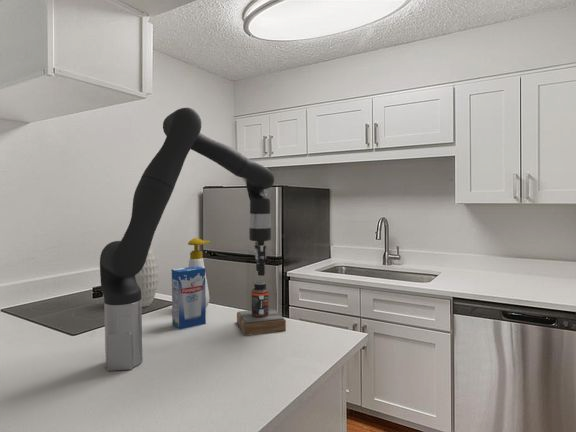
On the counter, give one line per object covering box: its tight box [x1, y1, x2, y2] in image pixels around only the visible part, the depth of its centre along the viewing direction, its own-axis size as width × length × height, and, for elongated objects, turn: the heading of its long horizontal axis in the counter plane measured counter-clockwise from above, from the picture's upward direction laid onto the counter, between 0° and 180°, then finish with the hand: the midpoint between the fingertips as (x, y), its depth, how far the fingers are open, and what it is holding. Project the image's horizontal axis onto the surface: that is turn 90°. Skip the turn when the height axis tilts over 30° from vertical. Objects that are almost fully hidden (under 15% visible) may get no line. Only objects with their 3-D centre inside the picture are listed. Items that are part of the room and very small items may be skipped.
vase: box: [135, 247, 159, 308], centre depth 158 cm, size 13×13×28 cm
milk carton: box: [171, 266, 207, 331], centre depth 133 cm, size 10×6×20 cm, turn 129°
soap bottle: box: [187, 237, 211, 309], centre depth 151 cm, size 13×10×29 cm
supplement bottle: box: [251, 281, 270, 317], centre depth 131 cm, size 6×6×11 cm
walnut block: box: [236, 307, 287, 336], centre depth 132 cm, size 14×14×4 cm
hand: (260, 273), depth 131 cm, fingers open, 8 cm apart
